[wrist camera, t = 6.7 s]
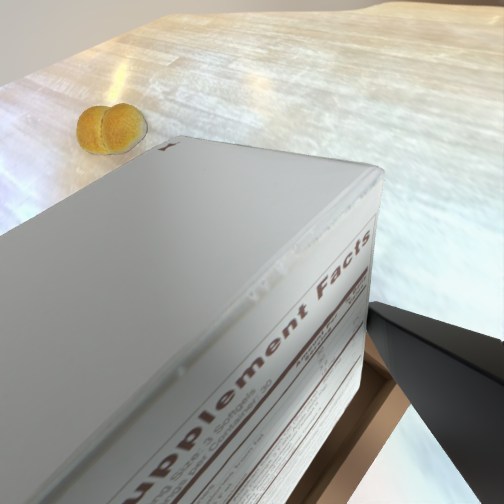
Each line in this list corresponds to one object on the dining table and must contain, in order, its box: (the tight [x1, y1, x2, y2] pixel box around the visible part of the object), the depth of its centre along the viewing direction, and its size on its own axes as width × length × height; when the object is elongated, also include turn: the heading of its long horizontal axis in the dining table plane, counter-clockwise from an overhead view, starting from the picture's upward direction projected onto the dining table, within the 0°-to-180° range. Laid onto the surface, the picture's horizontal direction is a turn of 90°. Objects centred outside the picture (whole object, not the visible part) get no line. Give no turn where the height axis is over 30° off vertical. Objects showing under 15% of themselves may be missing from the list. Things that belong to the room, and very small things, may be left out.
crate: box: [285, 332, 411, 504], centre depth 17 cm, size 13×13×3 cm
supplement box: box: [0, 136, 385, 504], centre depth 9 cm, size 7×7×13 cm
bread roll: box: [76, 103, 147, 155], centre depth 33 cm, size 8×9×4 cm
